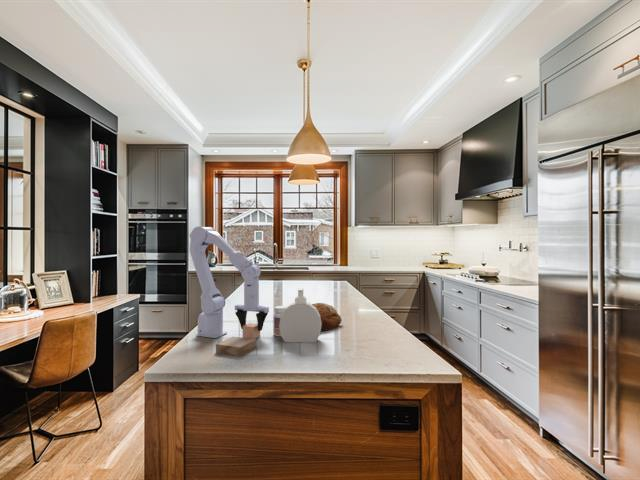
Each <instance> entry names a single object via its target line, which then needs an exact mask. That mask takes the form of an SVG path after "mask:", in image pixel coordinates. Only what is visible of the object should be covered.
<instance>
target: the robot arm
mask: <svg viewBox="0 0 640 480" xmlns="http://www.w3.org/2000/svg"><path fill="white" fill-rule="evenodd" d="M189 238H190V243H189V253H190V256H191V259H192V263H193V267H194V269H195V272H196V276H197V278H198V282H199V285H200V288H201V294H200V301H201V302H200V308H201V309H200V310H201V311H202V312H201V313H200V314H199V315H198V318H197V333H196V336H197V337H203V338H204V337H205V338H213V339H216V338H219V337H222V336H224V335H226V334H228V332H227V331H223V329H224V328H223V327H224V323H223V320H224V318H223V317H224V315H223V313H224V310H223V309H224V308H225V306H226V299H225V297H224V296H223V295H222V293H221V291H220V290H219V289H218V288H217V287H216V283H215V280H214V277H213V275H212V274H213V273H212V271H211V268H210V265H209V261H208V259H207V254H206V252H205V251H206V249H208V247H209V246H210V245H214V246H216V247H217V248H218V249H219V250H220V251H221V252H223V253H224V254H225V255H226V256H228V258H229V263H230V264H231V265H233V266H234V268H236V269H237V270H238V271H239V272H240V274H241V277H242V279H243V282H244V283H243V291H244V292H243V296H244V297H243V299H244V301H243V304H235V305H234V311H235V313H234V314H235V316H236V317H237V319H238V322H239V325H240V328H241V329H240V330H243V326H244V325H246V324H247V314H248V312H254V313H255V312H256V313H255V316H256V320H257V321H256V322H257V324H258V331H260V332H261V331H263V327H264V323H265V320H266V318H267V316H268V314H269V312H270V311H269V310H270V309H269V308H270V307H269V306H263V305H260V295H259V294H260V289H259V288H260V284H259V281H260V280H259V277H260V276H261V273H262V271H261V267H260V266H259V265H258V264H256V263H254V262H253V261H252V260H249V258H248V257H247V256H245V253H244V251H243V252H241V251H239V250H237V251H236V250H235V249H234V248H233V247H232V246H231V245H230V244H229V243H228V242H227V241H226V240H225V238H223V236H221V234H220V233H219V232H218V231H217V230H216V229H215V228H214V227H211V226H199V225H198V226H195V227H194V228H192V230H191V232H190V234H189Z"/></svg>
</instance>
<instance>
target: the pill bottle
mask: <svg viewBox="0 0 640 480" xmlns="http://www.w3.org/2000/svg"><path fill="white" fill-rule="evenodd" d="M286 307H287V306H286V305H278V306H277V305H276V306H274V312H275V313H273V335H274V336H275V337H282V336H281V334H280V328H279V323H280V318H281V315H282V314H283V312H284V310H285V309H286Z"/></svg>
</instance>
